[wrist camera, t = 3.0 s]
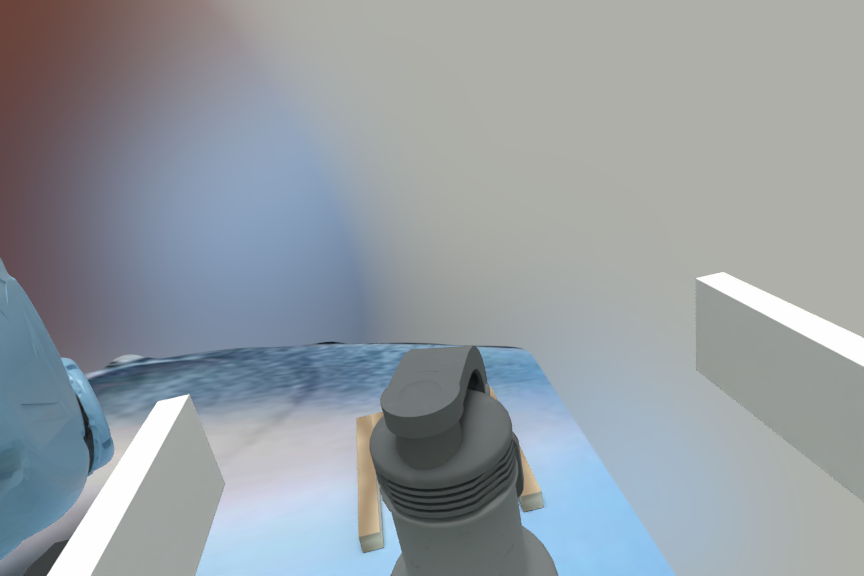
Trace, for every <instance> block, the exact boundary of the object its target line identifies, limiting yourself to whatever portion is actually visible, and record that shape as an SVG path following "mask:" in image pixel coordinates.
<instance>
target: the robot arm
mask: <svg viewBox="0 0 864 576" xmlns="http://www.w3.org/2000/svg"><path fill="white" fill-rule="evenodd" d="M696 370H697V371H698V372H700V373H701V374H702V375H703V376H705V377H706V378H707V379H708V380H710V381H711V382H712V383H714V384H715V385H716V386H717V387H719V388H720V389H721V390H722V391H724V392H725V393H726V394H727V395H729V396H730V397H731V398H733V399H734V400H735V401H736V402H738V403H739V404H740V405H741V406H743V407H744V408H745V409H746V410H748V411H749V412H750V413H752V414H753V415H754V416H755V417H757V418H758V419H759V420H760V421H762V422H763V423H764V424H765V425H767V426H768V427H769V428H771V429H772V430H773V431H774V432H776V433H777V434H778V435H779V436H781V437H782V438H783V439H784V440H786V441H787V442H788V443H789V444H791V445H792V446H793V447H795V448H796V449H797V450H798V451H800V452H801V453H802V454H804V455H805V456H806V457H807V458H808V459H810V460H811V461H812V462H814V463H815V464H816V465H817V466H819V467H820V468H821V469H822V470H824V471H825V472H826V473H828V474H829V475H830V476H831V477H833V478H834V479H835V480H836V481H838V482H839V483H840V484H841V485H843V486H844V487H845V488H847V489H848V490H849V491H850V492H852V493H853V494H854V495H855V496H857V497H858V498H859V499H860V500H862V501H863V502H864V338H862V337H860V336H858V335H856V334H854V333H852V332H850V331H848V330H845V329H843V328H841V327H839V326H837V325H835V324H833V323H831V322H828V321H826V320H824V319H822V318H820V317H818V316H816V315H814V314H811V313H809V312H807V311H805V310H803V309H801V308H799V307H796V306H794V305H792V304H790V303H788V302H786V301H784V300H782V299H779V298H777V297H775V296H773V295H771V294H768V293H766V292H765V291H762V290H760V289H758V288H756V287H754V286H752V285H750V284H747V283H745V282H743V281H741V280H739V279H737V278H734V277H732V276H730V275H728V274H726V273H724V272H721V273H717V274H712V275H708V276H704V277H700V278H696ZM113 454H114V444H113V440H112V438H111V434H110V430H109V426H108V424H107V421H106V418H105V416H104V413H103V411H102V409H101V407H100V404H99V402H98V400H97V398H96V396H95V394H94V392H93V390H92V388H91V386H90V384H89V382H88V380H87V378H86V377H85V375H84V374H83V373H82V371H81V370H80V369H79V367H78V365H77V364H76V363H75V362H74V361H73V360H71V359H68V358H60V356H59V353H58V351H57V349H56V347H55V345H54V343H53V342H52V340H51V338H50V336H49V334H48V332H47V330H46V328H45V326H44V324H43V322H42V320H41V318H40V317H39V315H38V313H37V312H36V310H35V308H34V306H33V305H32V303H31V301H30V300H29V298H28V297H27V295H26V293H25V292H24V290H23V289H22V288H21V286H20V285H19V284H18V282H17V281H16V280H15V278H12V277H10V275H9V274H8V273H7V271H6V269H5V267H4V264H3V262H2V260H1V258H0V560H1V559H3V558H4V557H5V556H7V555H8V554H9V553H10V552H11V551H13V550H14V549H15V548H16V547H17V546H18V545H19V544H20V543H21V542H22V541H23V540H25V539H27V538H28V537H30V536H32V535H34V534H36V533H37V532H39V531H41V530H43V529H45V528H46V527H48V526H49V525H51V524H52V523H54V522H55V521H57V520H58V519H59V518H60V517H62V516H63V515H64V514H65V513H66V512H67V511H68V510H69V509H70V508H71V507H72V506H73V504H74V503H75V502H76V500H77V499H78V497H79V496H80V494H81V492H82V490H83V488H84V485H85V483H86V480H87V477H88V476H90V475H91V474H92V473H93V472H94V471H95V470H97V469H99V468H101V467H102V466H104V465H106V464H107V463H108V462H109V461H110V460H111V459H112V457H113ZM224 485H225V482H224V480H223V477H222V475H221V472H220V470H219V467H218V465H217V462H216V460H215V457H214V455H213V452H212V450H211V447H210V445H209V442H208V440H207V437H206V435H205V432H204V430H203V427H202V425H201V422H200V420H199V417H198V415H197V412H196V410H195V407H194V405H193V402H192V400H191V397H190V395H184V396H180V397H176V398H171V399H167V400H163V401H158V402H157V403H156V405H155V407H154V408H153V410H152V411H151V413H150V414H149V416H148V418H147V419H146V421H145V422H144V424H143V425H142V427H141V429H140V430H139V432H138V433H137V435H136V436H135V438H134V440H133V441H132V443H131V444H130V446H129V447H128V449H127V451H126V452H125V454H124V455H123V457H122V458H121V460H120V462H119V463H118V465H117V466H116V468H115V469H114V471H113V473H112V474H111V476H110V477H109V479H108V480H107V482H106V484H105V485H104V487H103V488H102V490H101V491H100V493H99V494H98V496H97V498H96V499H95V501H94V502H93V504H92V505H91V507H90V509H89V510H88V512H87V513H86V515H85V516H84V518H83V520H82V521H81V523H80V524H79V526H78V527H77V529H76V531H75V532H74V534H73V535H72V537H71V538H70V540H66V541H62V542H58V543H55V544H54V545H53V546H52V547H51V548H50V549H48V550H47V551H46V552H45V553H44V554H43V555H42V556H41V557H40V558H39V559H38V560H37V561H36V562H35V563H34V564H33V565H32V566H31V567H29V568H28V570H27V571H26V573H25V574H24V576H195V574H196V571H197V568H198V565H199V562H200V559H201V556H202V553H203V550H204V547H205V544H206V541H207V537H208V534H209V531H210V528H211V525H212V522H213V519H214V516H215V513H216V510H217V507H218V504H219V501H220V498H221V495H222V492H223V489H224Z"/></svg>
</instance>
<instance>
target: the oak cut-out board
mask: <svg viewBox="0 0 864 576" xmlns="http://www.w3.org/2000/svg"><path fill="white" fill-rule="evenodd" d="M490 396H491V397H493V398H495V399H496V400H497V398H496V396H495V394H494V392H493V389H492V387H490ZM497 401H498V400H497ZM382 416H383V412H380V413H376V414H372V415H368V416H363V417H359V418H357V465H358V519H359V539H360V543H361V546H362V549H363V553H364V552H368V551H372V550H376V549H380V548H384V542H383V528H382V514H381V501H380V487H379V483H378V480H377V475H376V472H375V468H374V464H373V461H372V457H371V454H370V449H369V444H370V437H371V434H372V431H373V429H374V427H375V425H376V424H377V422H378V421H379V420H380V418H381V417H382ZM512 432H513V431H512ZM519 448H520V446H519ZM520 454H521V461H522V468H523V475H524V488H523V492H522V494H521V495H520V496H519V497H518V499H519V501H520V504H521V506H522V509H523V511H524V512H527V511H530V510H534V509H538V508H542V507H543V499H542V492H541V489H540V487H539V485H538V483H537V481H536V479H535V477H534V475H533V473H532V471H531V469H530V466H529V464H528V462H527V460H526V458H525V456H524V454H523V452H522V450H521V448H520Z"/></svg>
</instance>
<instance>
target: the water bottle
mask: <svg viewBox="0 0 864 576" xmlns="http://www.w3.org/2000/svg"><path fill="white" fill-rule="evenodd" d="M380 403H381V407H382V411H383V416H382V417H381V418H380V420H379V421H378V422H377V424H376V425H375V427H374V429H373V431H372V434H371V437H370V444H369V449H370V454H371V457H372V461H373V464H374V468H375V472H376V475H377V480H378V483H379V484H380V492H381V495H382V499H383V501H384V503H385V504H386V506H387V508H388V509H389V511H391V512H392V516H393V520H394V524H395V527H396V531H397V535H398V539H399V543H400V546H401V550H402V554H401V555H400V557H399V558H398V560H397V562H396V564H395V566H394V569H393V571H392V574H391V576H558V573H557V570H556V567H555V565H554V562H553V559H552V558H551V556H550V554H549V553H548V551H547V550H546V548H545V546H544V545H543V544H542V543H541V541H540V540H539V539H538V538H537V537H536V536H535V535H534V534H533V533H531V532H530V531H529V530H527V529H526V528H524V527H523V526H522V524H521V518H520V511H519V505H518V497H519V496H520V495H521V494H522V492H523V488H524V475H523V468H522V461H521V454H520V448H519V441H518V438H517V437H516V435H515V434H514V433H513V432H512V424H511V419H510V417H509V414H508V412H507V410H506V409H505V408H504V406H503V405H502V404H501V403H500V402H498V401H497V400H496V399H495V398H493V397H491V396H490V387H489V385H488V383H487V377H486V372H485V367H484V363H483V359H482V357H481V354H480V352H479V350H478V349H477V347H475V346H462V347H445V348H428V349H411V350H410V351H408V352H407V353H406V354H405V355H404V356H403V358H402V360H401V362H400V363H399V365H398V367H397V369H396V371H395V373H394V375H393V377H392V379H391V381H390V383H389V385H388V387H387V388H386V389H385V390H384V392H383V393H382V395H381V398H380Z"/></svg>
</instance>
